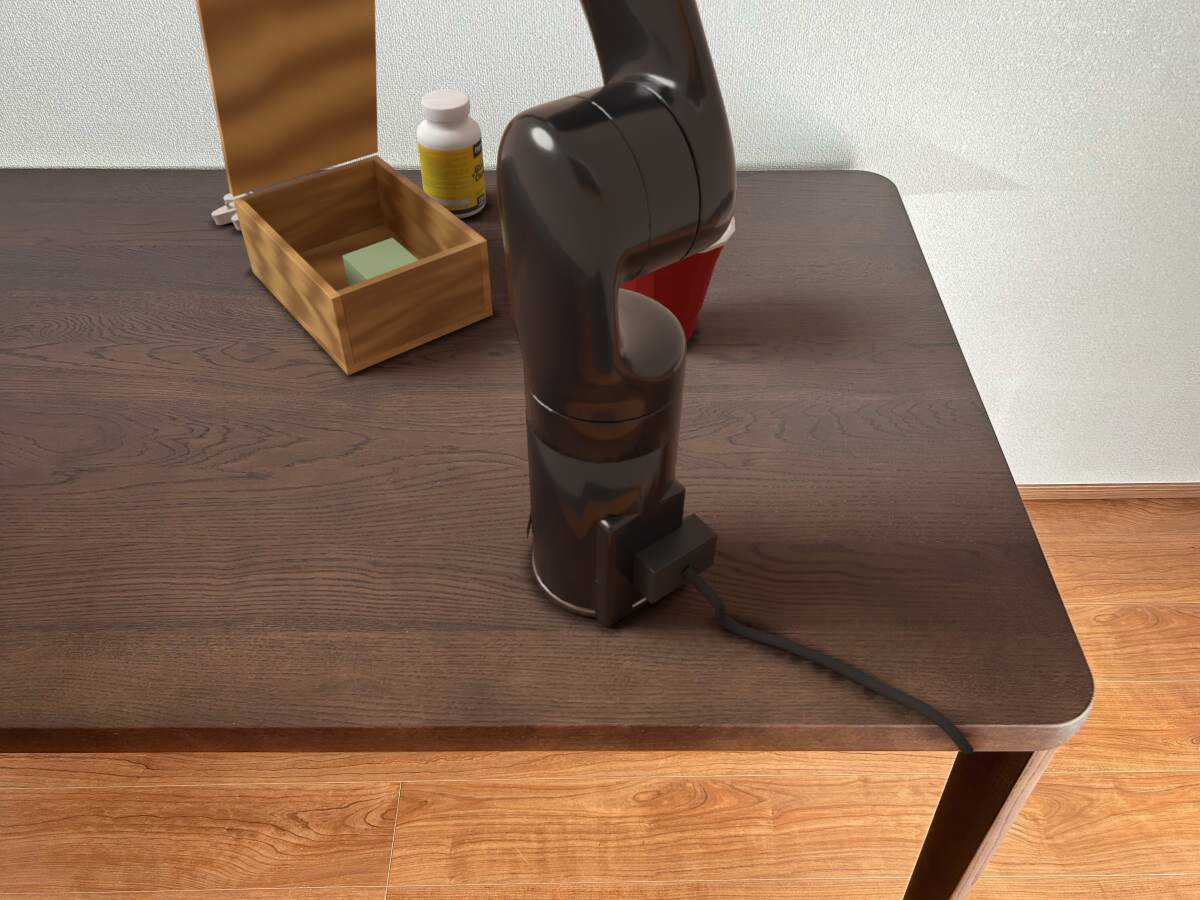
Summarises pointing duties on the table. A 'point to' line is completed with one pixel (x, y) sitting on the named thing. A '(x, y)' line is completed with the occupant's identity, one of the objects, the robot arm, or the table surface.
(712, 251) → the plastic cup
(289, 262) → the chest
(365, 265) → the block
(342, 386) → the table surface
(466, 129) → the pill bottle
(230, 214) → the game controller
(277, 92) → the lid
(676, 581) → the robot arm
